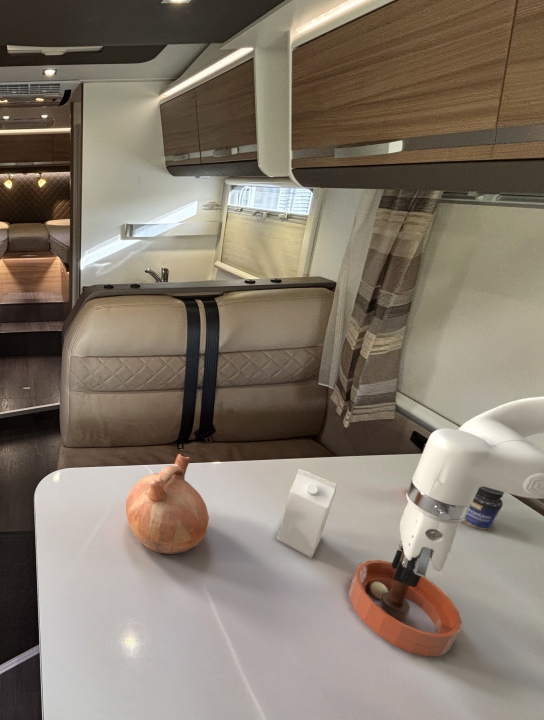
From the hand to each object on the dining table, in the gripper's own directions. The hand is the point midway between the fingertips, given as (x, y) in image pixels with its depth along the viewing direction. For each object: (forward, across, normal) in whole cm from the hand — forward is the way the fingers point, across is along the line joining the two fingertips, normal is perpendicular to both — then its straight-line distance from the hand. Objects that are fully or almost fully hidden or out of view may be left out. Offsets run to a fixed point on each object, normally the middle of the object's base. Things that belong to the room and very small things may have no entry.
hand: (403, 575), depth 79 cm
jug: (+11, -5, +42) cm, 44 cm away
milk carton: (+11, +10, +16) cm, 22 cm away
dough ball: (+9, +3, +1) cm, 9 cm away
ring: (+11, 0, -2) cm, 11 cm away
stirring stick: (+10, 0, -1) cm, 10 cm away
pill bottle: (+11, +40, -19) cm, 45 cm away
